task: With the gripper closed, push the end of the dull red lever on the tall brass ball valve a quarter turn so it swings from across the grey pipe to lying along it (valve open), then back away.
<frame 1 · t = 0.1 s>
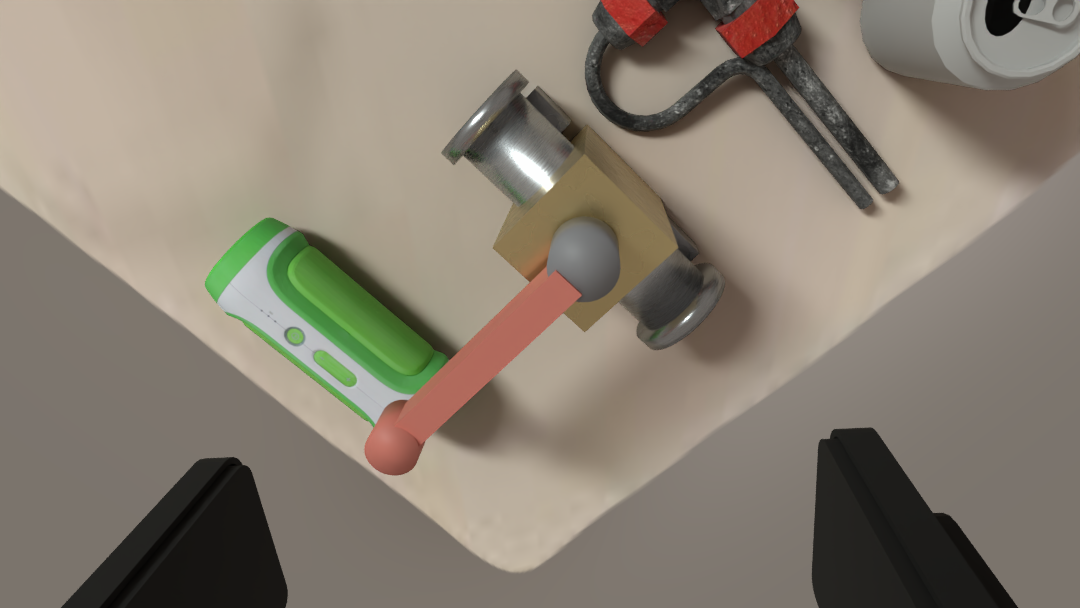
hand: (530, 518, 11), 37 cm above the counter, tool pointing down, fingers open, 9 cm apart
can: (918, 9, 41), on the counter
lever: (487, 351, 37), point 13 cm above the counter, hinge at 0.0°
pipe valve: (587, 198, 47), on the counter
speaker: (358, 312, 52), on the counter
valve: (720, 63, 43), on the counter
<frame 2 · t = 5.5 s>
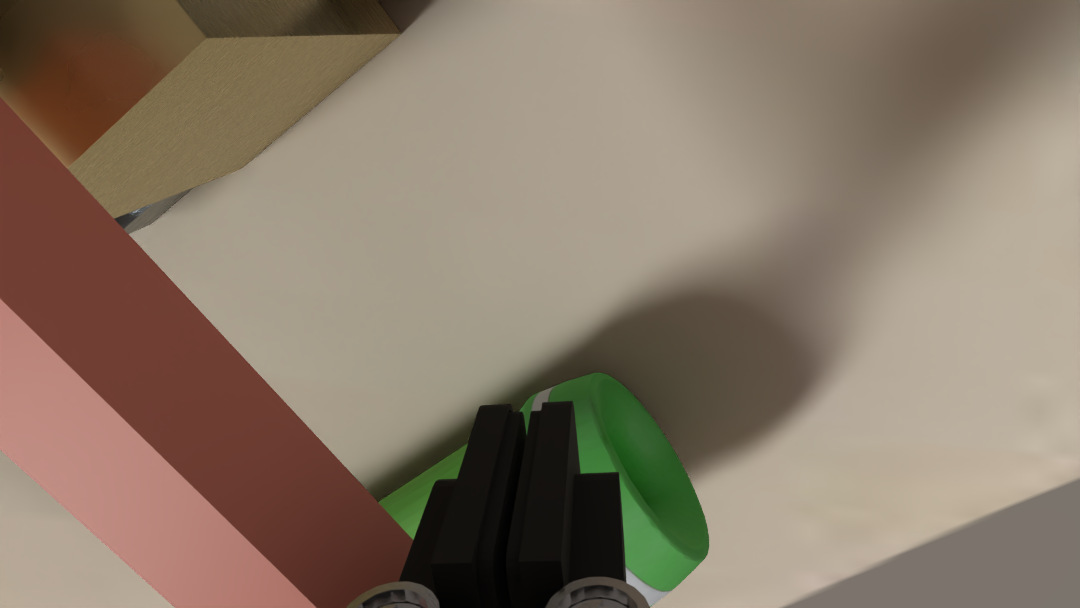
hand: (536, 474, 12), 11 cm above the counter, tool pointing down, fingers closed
lever: (158, 410, 10), point 13 cm above the counter, hinge at 0.0°, touching gripper
pipe valve: (239, 5, 20), on the counter
speaker: (461, 508, 27), on the counter
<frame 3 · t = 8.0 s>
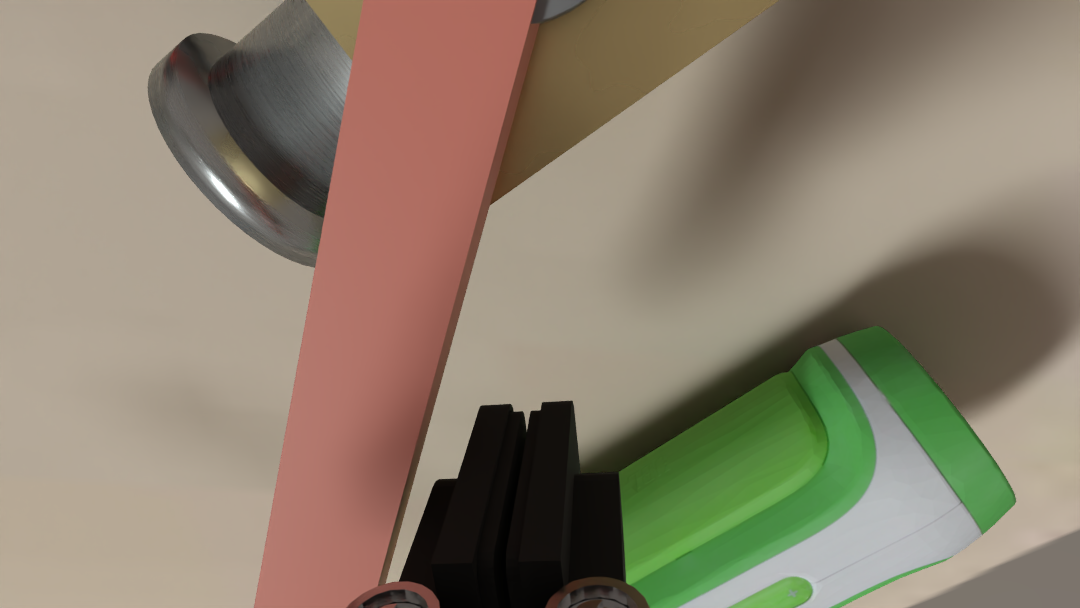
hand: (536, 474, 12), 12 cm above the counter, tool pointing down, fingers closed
lever: (378, 383, 11), point 13 cm above the counter, hinge at 52.3°, touching gripper
speaker: (686, 471, 27), on the counter
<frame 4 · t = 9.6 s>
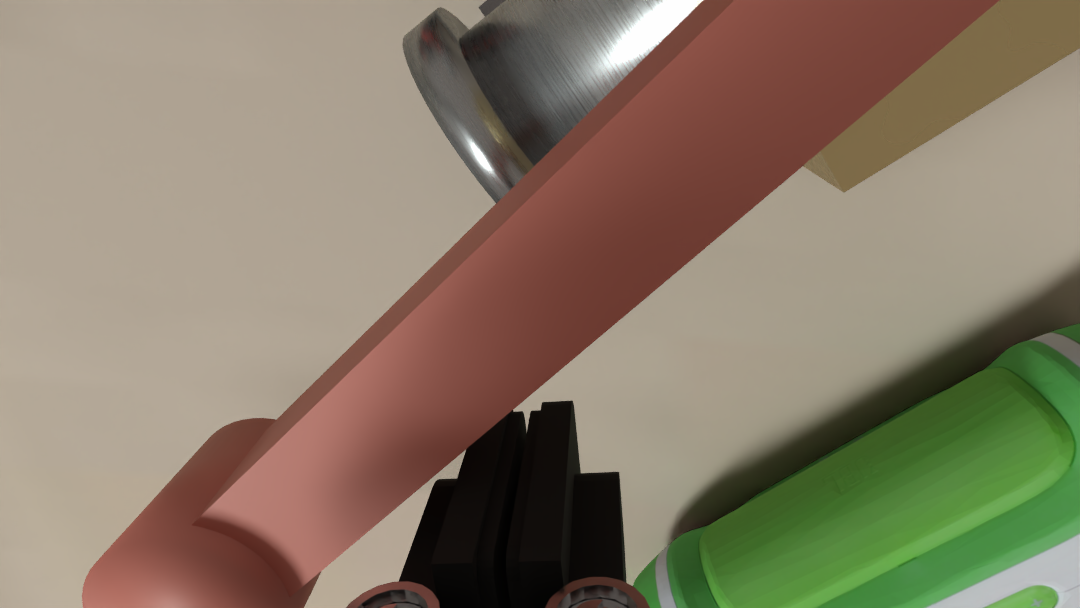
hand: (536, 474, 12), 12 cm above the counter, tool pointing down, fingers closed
lever: (561, 242, 9), point 13 cm above the counter, hinge at 81.3°, touching gripper
speaker: (857, 473, 26), on the counter
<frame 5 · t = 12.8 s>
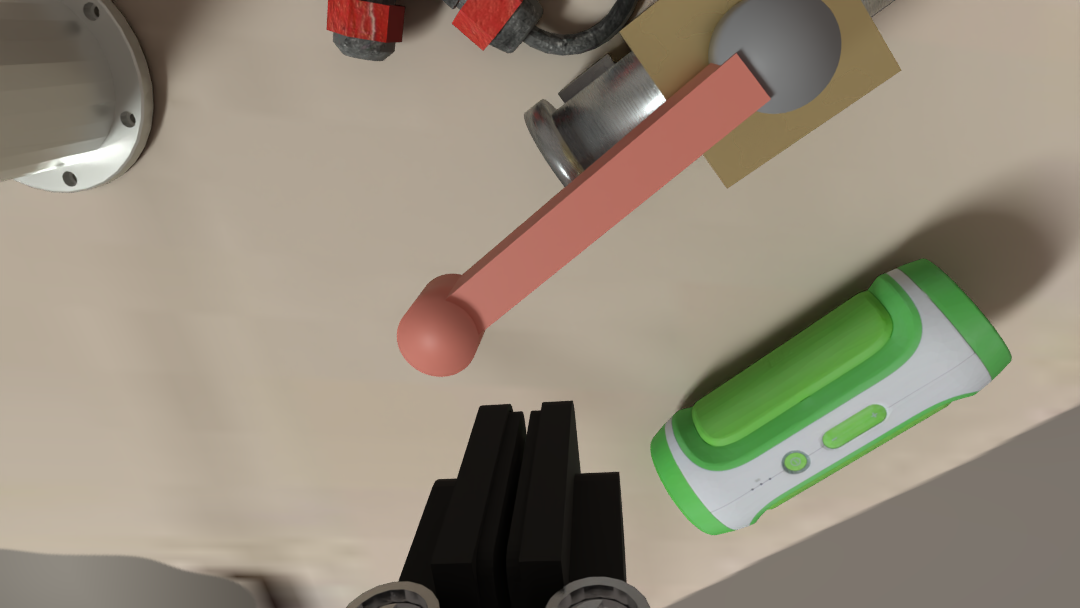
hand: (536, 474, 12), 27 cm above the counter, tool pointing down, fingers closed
lever: (597, 197, 24), point 13 cm above the counter, hinge at 86.1°
pipe valve: (716, 45, 34), on the counter
speaker: (796, 369, 41), on the counter
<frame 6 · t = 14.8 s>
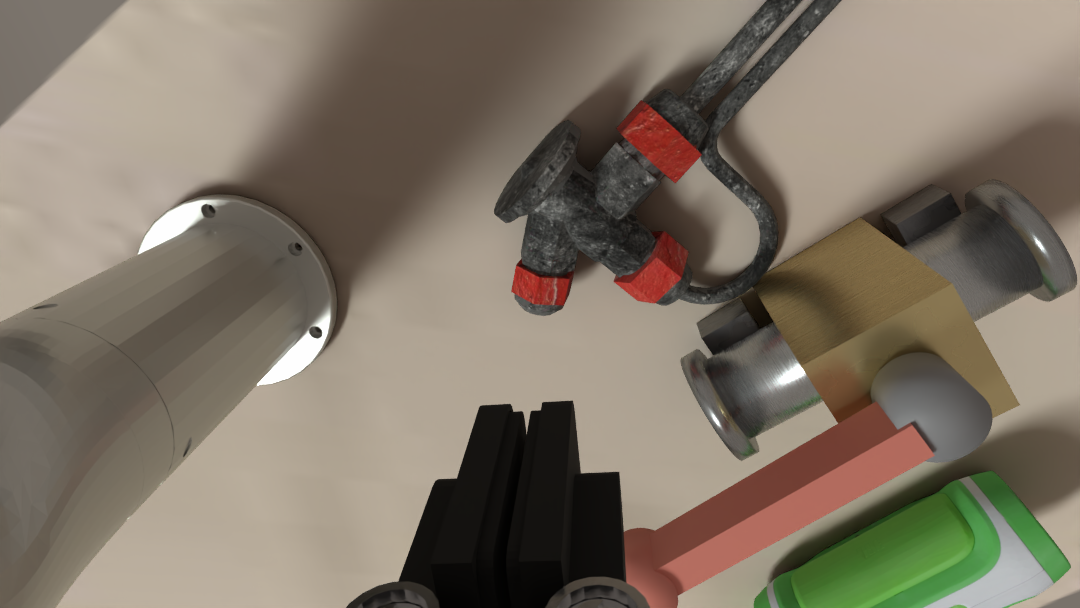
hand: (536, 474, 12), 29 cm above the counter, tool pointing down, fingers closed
lever: (779, 495, 31), point 13 cm above the counter, hinge at 86.1°
pipe valve: (832, 296, 41), on the counter
speaker: (875, 541, 48), on the counter
valve: (701, 154, 39), on the counter
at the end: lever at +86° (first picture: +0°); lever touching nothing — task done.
